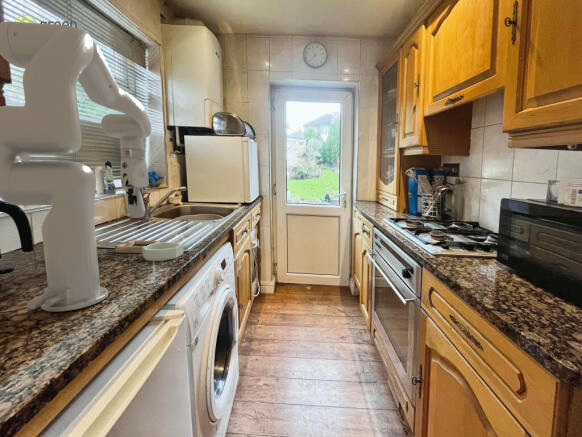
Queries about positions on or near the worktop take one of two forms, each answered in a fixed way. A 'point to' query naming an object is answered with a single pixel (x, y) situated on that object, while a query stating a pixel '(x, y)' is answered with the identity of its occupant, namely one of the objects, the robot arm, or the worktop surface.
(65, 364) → the worktop surface
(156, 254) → the holder ring
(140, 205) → the salt shaker
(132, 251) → the tray
